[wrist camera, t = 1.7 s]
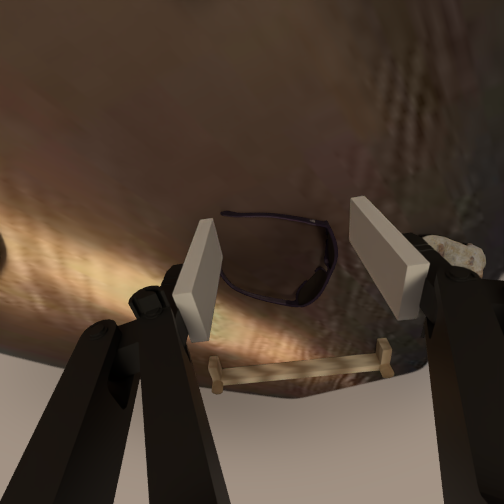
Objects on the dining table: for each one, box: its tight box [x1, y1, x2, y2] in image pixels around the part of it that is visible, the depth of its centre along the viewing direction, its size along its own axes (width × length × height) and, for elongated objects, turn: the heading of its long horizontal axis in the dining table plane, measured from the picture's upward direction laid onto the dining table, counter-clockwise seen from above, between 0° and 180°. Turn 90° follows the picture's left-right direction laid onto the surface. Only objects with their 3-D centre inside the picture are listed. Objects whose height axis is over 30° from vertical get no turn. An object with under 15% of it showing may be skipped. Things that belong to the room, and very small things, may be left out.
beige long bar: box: [208, 338, 394, 394], centre depth 49 cm, size 32×6×4 cm, turn 99°
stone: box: [423, 235, 486, 278], centre depth 38 cm, size 12×9×3 cm
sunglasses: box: [220, 211, 338, 307], centre depth 37 cm, size 14×16×5 cm
